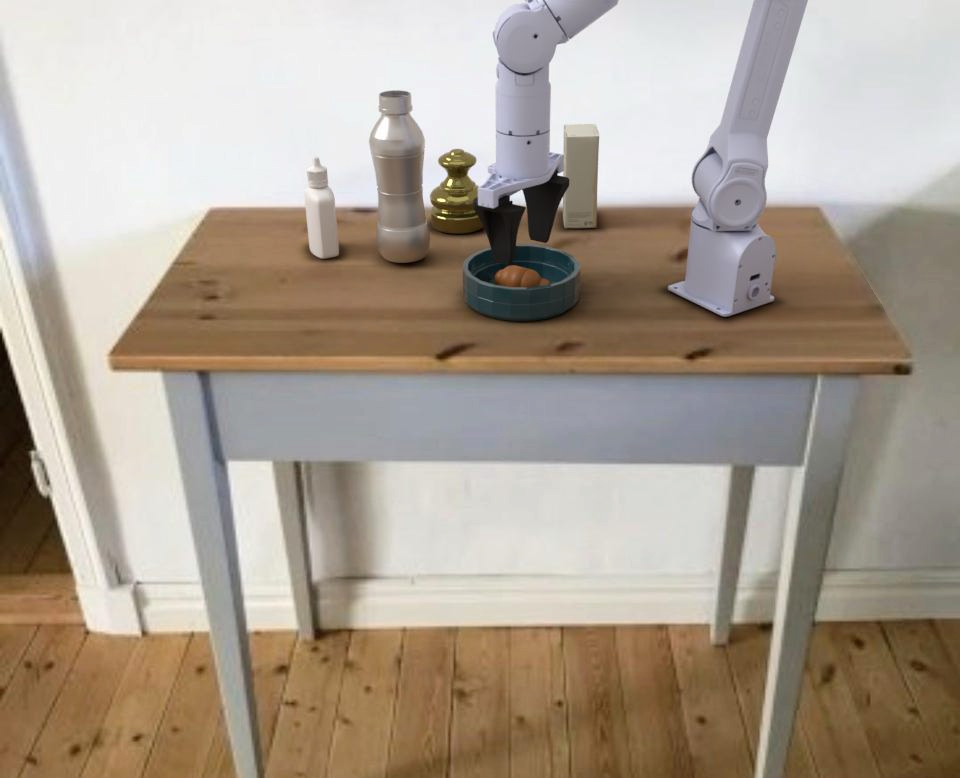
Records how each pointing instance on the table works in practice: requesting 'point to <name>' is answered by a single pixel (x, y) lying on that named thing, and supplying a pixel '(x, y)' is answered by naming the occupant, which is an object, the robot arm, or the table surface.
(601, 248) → the table surface
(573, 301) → the bowl
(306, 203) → the eye dropper bottle
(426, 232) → the plastic bottle
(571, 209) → the cosmetic box
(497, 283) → the croissant
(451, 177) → the gold tiered knob
